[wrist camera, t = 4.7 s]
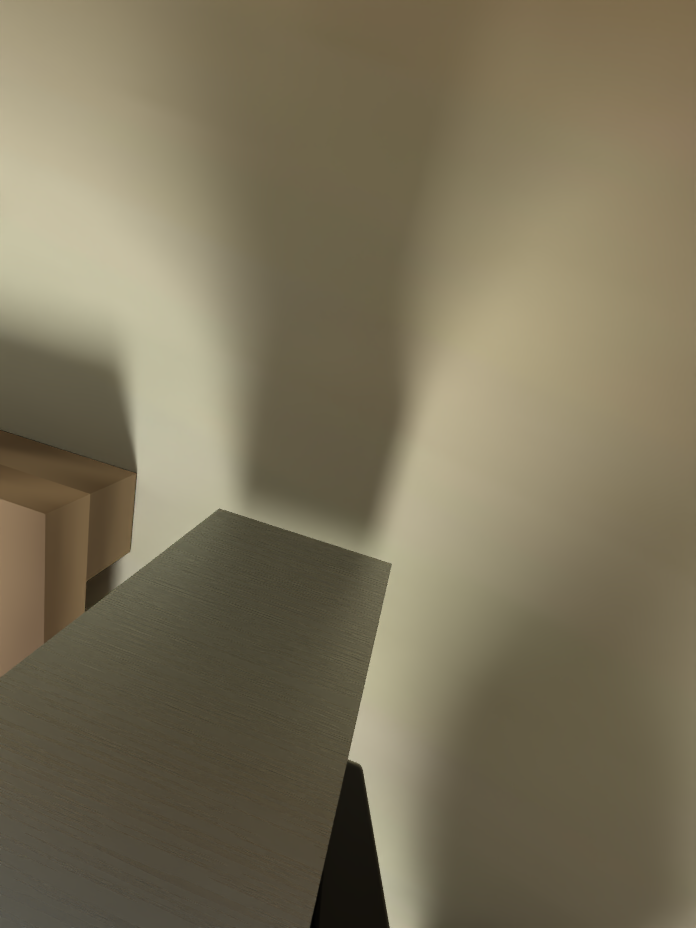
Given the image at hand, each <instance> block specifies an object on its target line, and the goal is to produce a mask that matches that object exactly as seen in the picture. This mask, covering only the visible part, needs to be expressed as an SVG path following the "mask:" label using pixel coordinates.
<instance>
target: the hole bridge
mask: <svg viewBox="0 0 696 928" xmlns="http://www.w3.org/2000/svg"><path fill="white" fill-rule="evenodd" d="M135 485H136V473H134V472H131V471H127V470H124V469H121V468H118V467H115V466H112V465H109V464H105V463H102V462H99V461H96V460H93V459H90V458H87V457H83V456H80V455H77V454H74V453H71V452H68V451H65V450H61V449H58V448H55V447H52V446H49V445H46V444H43V443H39V442H36V441H33V440H30V439H27V438H24V437H21V436H17V435H14V434H11V433H8V432H5V431H2V430H0V677H1V676H3V675H4V674H5V673H7V672H8V671H9V670H11V669H12V668H13V667H14V666H16V665H17V664H18V663H20V662H21V661H22V660H23V659H25V658H26V657H27V656H29V655H30V654H31V653H33V652H34V651H35V650H36V649H38V648H39V647H40V646H42V645H43V644H44V643H46V642H47V641H48V640H49V639H51V638H52V637H53V636H55V635H56V634H57V633H59V632H60V631H61V630H62V629H64V628H65V627H66V626H68V625H69V624H70V623H72V622H73V621H74V620H75V619H77V618H78V617H79V616H81V615H82V614H83V613H85V595H86V582H87V581H88V580H89V579H91V578H92V577H94V576H95V575H97V574H98V573H100V572H101V571H103V570H104V569H105V568H107V567H108V566H110V565H111V564H113V563H114V562H116V561H117V560H119V559H120V558H121V557H123V556H124V555H126V554H127V553H129V552H130V545H131V533H132V521H133V509H134V497H135Z"/></svg>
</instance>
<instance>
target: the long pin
mask: <svg viewBox="0 0 696 928" xmlns="http://www.w3.org/2000/svg"><path fill="white" fill-rule="evenodd" d="M391 565H392V564H390V563H387V562H384V561H381V560H378V559H375V558H372V557H369V556H366V555H362V554H359V553H356V552H353V551H350V550H347V549H344V548H341V547H338V546H334V545H331V544H328V543H325V542H322V541H319V540H316V539H313V538H310V537H306V536H303V535H300V534H297V533H294V532H291V531H288V530H285V529H282V528H278V527H275V526H272V525H269V524H266V523H263V522H260V521H257V520H254V519H250V518H247V517H244V516H241V515H238V514H235V513H232V512H229V511H226V510H222V509H218V510H217V511H216V512H214V513H213V514H212V515H210V516H209V517H208V518H207V519H205V520H204V521H203V522H201V523H200V524H199V525H197V526H196V527H195V528H194V529H192V530H191V531H190V532H188V533H187V534H186V535H184V536H183V537H182V538H181V539H179V540H178V541H177V542H175V543H174V544H173V545H172V546H170V547H169V548H168V549H166V550H165V551H164V552H162V553H161V554H160V555H159V556H157V557H156V558H155V559H153V560H152V561H151V562H149V563H148V564H147V565H146V566H144V567H143V568H142V569H140V570H139V571H138V572H136V573H135V574H134V575H133V576H131V577H130V578H129V579H127V580H126V581H125V582H123V583H122V584H121V585H120V586H118V587H117V588H116V589H114V590H113V591H112V592H110V593H109V594H108V595H107V596H105V597H104V598H103V599H101V600H100V601H99V602H97V603H96V604H95V605H94V606H92V607H91V608H90V609H88V610H87V611H86V612H85V613H83V614H82V615H81V616H79V617H78V618H77V619H75V620H74V621H73V622H72V623H70V624H69V625H68V626H66V627H65V628H64V629H62V630H61V631H60V632H59V633H57V634H56V635H55V636H53V637H52V638H51V639H49V640H48V641H47V642H46V643H44V644H43V645H42V646H40V647H39V648H38V649H36V650H35V651H34V652H33V653H31V654H30V655H29V656H27V657H26V658H25V659H23V660H22V661H21V662H20V663H18V664H17V665H16V666H14V667H13V668H12V669H11V670H9V671H8V672H7V673H5V674H4V675H3V676H1V677H0V928H310V924H311V919H312V915H313V911H314V906H315V902H316V897H317V893H318V888H319V884H320V880H321V875H322V871H323V866H324V862H325V857H326V853H327V848H328V844H329V840H330V835H331V831H332V826H333V822H334V817H335V813H336V809H337V804H338V800H339V795H340V791H341V786H342V782H343V778H344V773H345V769H346V764H347V760H348V755H349V751H350V747H351V742H352V738H353V733H354V729H355V724H356V720H357V716H358V711H359V707H360V702H361V698H362V693H363V689H364V685H365V680H366V676H367V671H368V667H369V662H370V658H371V654H372V649H373V645H374V640H375V636H376V631H377V627H378V623H379V618H380V614H381V609H382V605H383V600H384V596H385V591H386V587H387V583H388V578H389V574H390V569H391Z"/></svg>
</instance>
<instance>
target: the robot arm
mask: <svg viewBox="0 0 696 928" xmlns="http://www.w3.org/2000/svg"><path fill="white" fill-rule="evenodd" d="M310 928H390V927H389V921H388V915H387V909H386V904H385V898H384V892H383V886H382V880H381V874H380V868H379V862H378V857H377V851H376V845H375V839H374V833H373V827H372V821H371V815H370V810H369V804H368V798H367V792H366V786H365V780H364V774H363V770H362V767H361V765H360V764H358V763H356V762H353V761H350V760H347V764H346V769H345V773H344V778H343V782H342V786H341V791H340V795H339V800H338V804H337V809H336V813H335V817H334V822H333V826H332V831H331V835H330V840H329V844H328V848H327V853H326V857H325V862H324V866H323V871H322V875H321V880H320V884H319V888H318V893H317V897H316V902H315V906H314V911H313V915H312V919H311V924H310Z"/></svg>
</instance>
